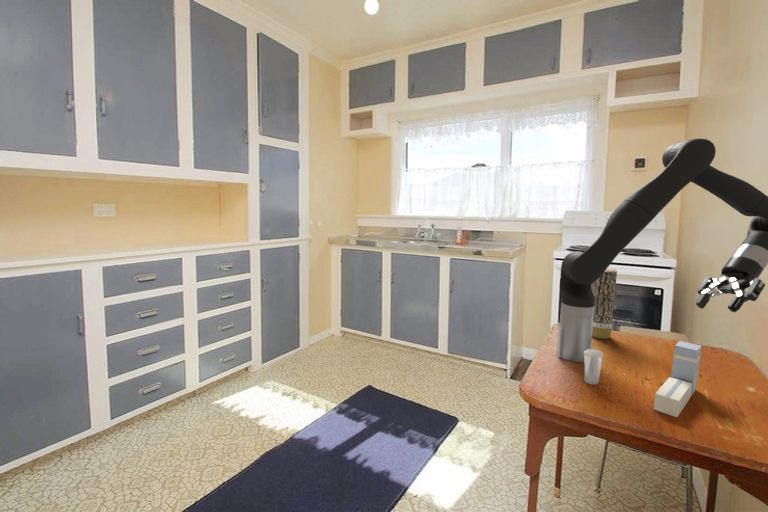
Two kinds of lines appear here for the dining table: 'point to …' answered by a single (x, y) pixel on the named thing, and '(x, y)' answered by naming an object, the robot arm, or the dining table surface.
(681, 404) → the white striped box
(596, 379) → the milkshake
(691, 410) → the dining table surface
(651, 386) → the dining table surface
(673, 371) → the tall grey box
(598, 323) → the paper tube
